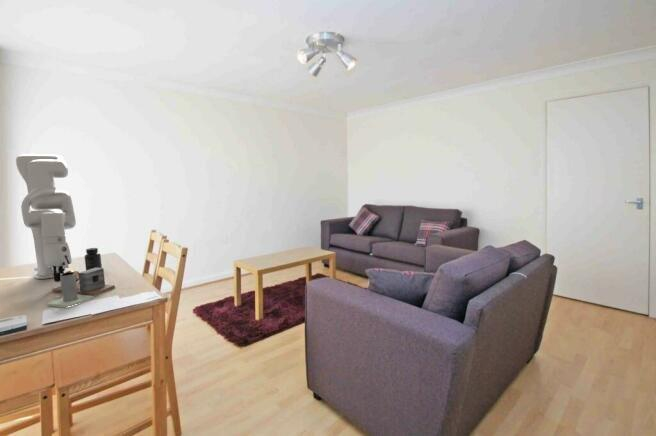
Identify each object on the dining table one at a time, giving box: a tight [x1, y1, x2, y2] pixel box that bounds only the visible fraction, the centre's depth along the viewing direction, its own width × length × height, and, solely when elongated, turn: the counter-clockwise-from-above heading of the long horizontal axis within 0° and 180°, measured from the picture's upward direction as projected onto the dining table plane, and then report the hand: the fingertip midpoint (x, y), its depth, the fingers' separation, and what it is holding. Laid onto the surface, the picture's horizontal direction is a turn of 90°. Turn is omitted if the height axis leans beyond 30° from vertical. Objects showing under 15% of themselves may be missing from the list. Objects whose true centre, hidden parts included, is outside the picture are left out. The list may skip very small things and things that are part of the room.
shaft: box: [66, 270, 93, 282], centre depth 142 cm, size 12×5×5 cm, turn 76°
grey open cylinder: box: [60, 272, 78, 301], centre depth 128 cm, size 4×4×10 cm
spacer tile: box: [47, 294, 94, 308], centre depth 128 cm, size 10×10×1 cm
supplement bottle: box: [83, 247, 103, 271], centre depth 168 cm, size 7×7×12 cm
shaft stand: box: [51, 267, 116, 297], centre depth 141 cm, size 22×10×9 cm, turn 76°
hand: (59, 280), depth 145 cm, fingers closed
